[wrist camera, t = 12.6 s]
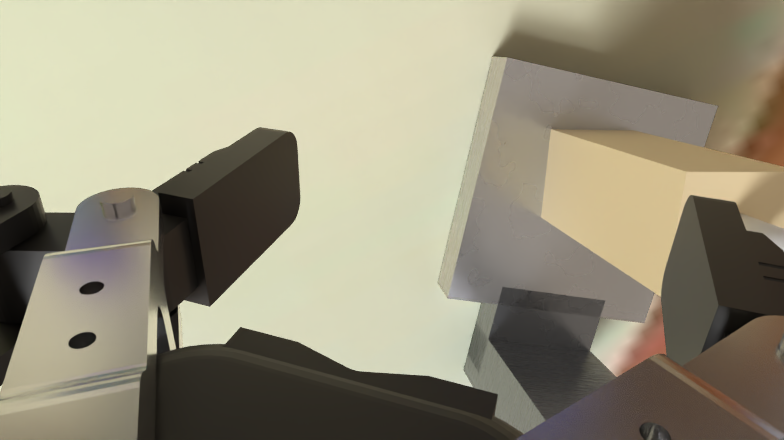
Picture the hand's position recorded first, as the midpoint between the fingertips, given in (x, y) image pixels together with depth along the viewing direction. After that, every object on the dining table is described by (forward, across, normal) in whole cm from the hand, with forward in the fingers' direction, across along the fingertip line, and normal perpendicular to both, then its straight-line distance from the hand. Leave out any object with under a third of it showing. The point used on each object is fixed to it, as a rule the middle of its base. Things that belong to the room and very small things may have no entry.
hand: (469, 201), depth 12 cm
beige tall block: (+18, -3, +7) cm, 19 cm away
